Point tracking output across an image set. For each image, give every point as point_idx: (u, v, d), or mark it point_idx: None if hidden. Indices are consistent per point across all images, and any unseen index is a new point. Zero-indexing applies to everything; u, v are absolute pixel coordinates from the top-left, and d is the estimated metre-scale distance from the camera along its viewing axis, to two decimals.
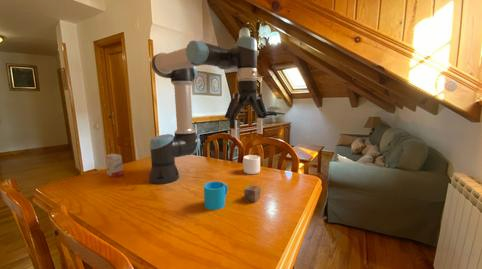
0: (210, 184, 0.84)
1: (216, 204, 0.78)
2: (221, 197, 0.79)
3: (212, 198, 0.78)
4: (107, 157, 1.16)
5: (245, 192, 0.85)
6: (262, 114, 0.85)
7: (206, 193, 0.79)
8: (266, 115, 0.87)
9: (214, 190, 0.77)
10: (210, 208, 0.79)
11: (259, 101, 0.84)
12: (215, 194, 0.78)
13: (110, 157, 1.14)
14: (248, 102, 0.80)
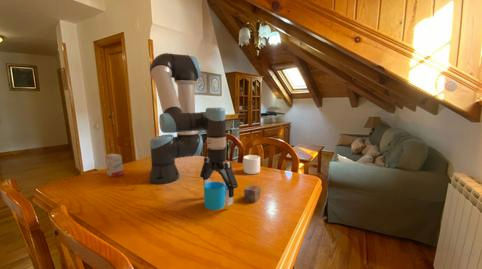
0: (210, 184, 0.84)
1: (216, 204, 0.78)
2: (221, 197, 0.79)
3: (212, 198, 0.78)
4: (107, 157, 1.16)
5: (245, 192, 0.85)
6: (227, 185, 0.77)
7: (206, 193, 0.79)
8: (232, 188, 0.75)
9: (214, 190, 0.77)
10: (210, 208, 0.79)
11: None
12: (215, 194, 0.78)
13: (110, 157, 1.14)
14: (214, 168, 0.81)
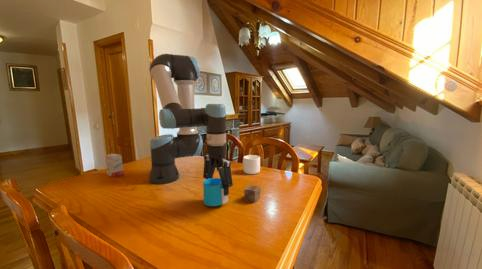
0: (209, 180, 0.84)
1: (215, 200, 0.79)
2: (220, 193, 0.80)
3: (211, 194, 0.78)
4: (107, 157, 1.16)
5: (245, 192, 0.85)
6: (223, 183, 0.79)
7: (205, 189, 0.79)
8: (226, 187, 0.77)
9: (213, 186, 0.78)
10: (209, 204, 0.79)
11: None
12: (214, 190, 0.78)
13: (110, 157, 1.14)
14: (213, 164, 0.81)
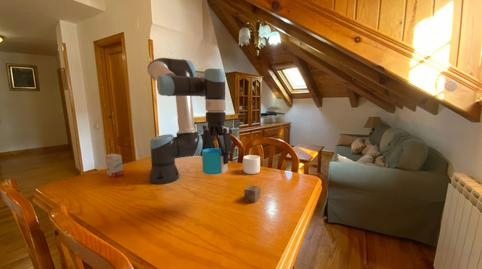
0: (208, 150, 0.82)
1: (214, 168, 0.77)
2: (220, 162, 0.78)
3: (210, 162, 0.76)
4: (107, 157, 1.16)
5: (245, 192, 0.85)
6: (222, 151, 0.77)
7: (204, 157, 0.77)
8: (226, 154, 0.75)
9: (212, 154, 0.76)
10: (208, 173, 0.77)
11: None
12: (213, 158, 0.76)
13: (110, 157, 1.14)
14: (213, 133, 0.79)
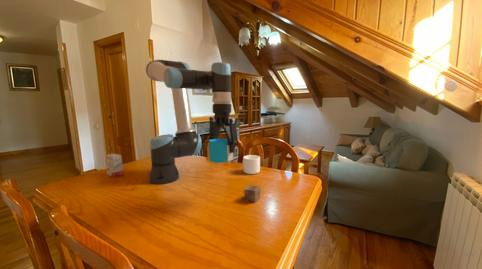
0: (215, 140, 0.87)
1: (221, 157, 0.81)
2: (226, 151, 0.82)
3: (217, 151, 0.81)
4: (107, 157, 1.16)
5: (245, 192, 0.85)
6: (228, 141, 0.81)
7: (211, 146, 0.81)
8: (232, 143, 0.80)
9: (219, 143, 0.80)
10: (215, 161, 0.81)
11: None
12: (220, 147, 0.80)
13: (110, 157, 1.14)
14: (219, 123, 0.84)
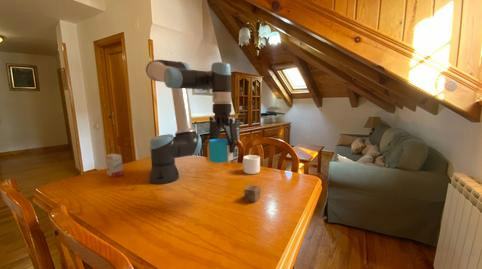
0: (215, 140, 0.87)
1: (221, 157, 0.81)
2: (226, 151, 0.82)
3: (217, 151, 0.81)
4: (107, 157, 1.16)
5: (245, 192, 0.85)
6: (228, 141, 0.81)
7: (211, 146, 0.81)
8: (232, 143, 0.80)
9: (219, 143, 0.80)
10: (215, 161, 0.81)
11: None
12: (220, 147, 0.80)
13: (110, 157, 1.14)
14: (219, 123, 0.84)
